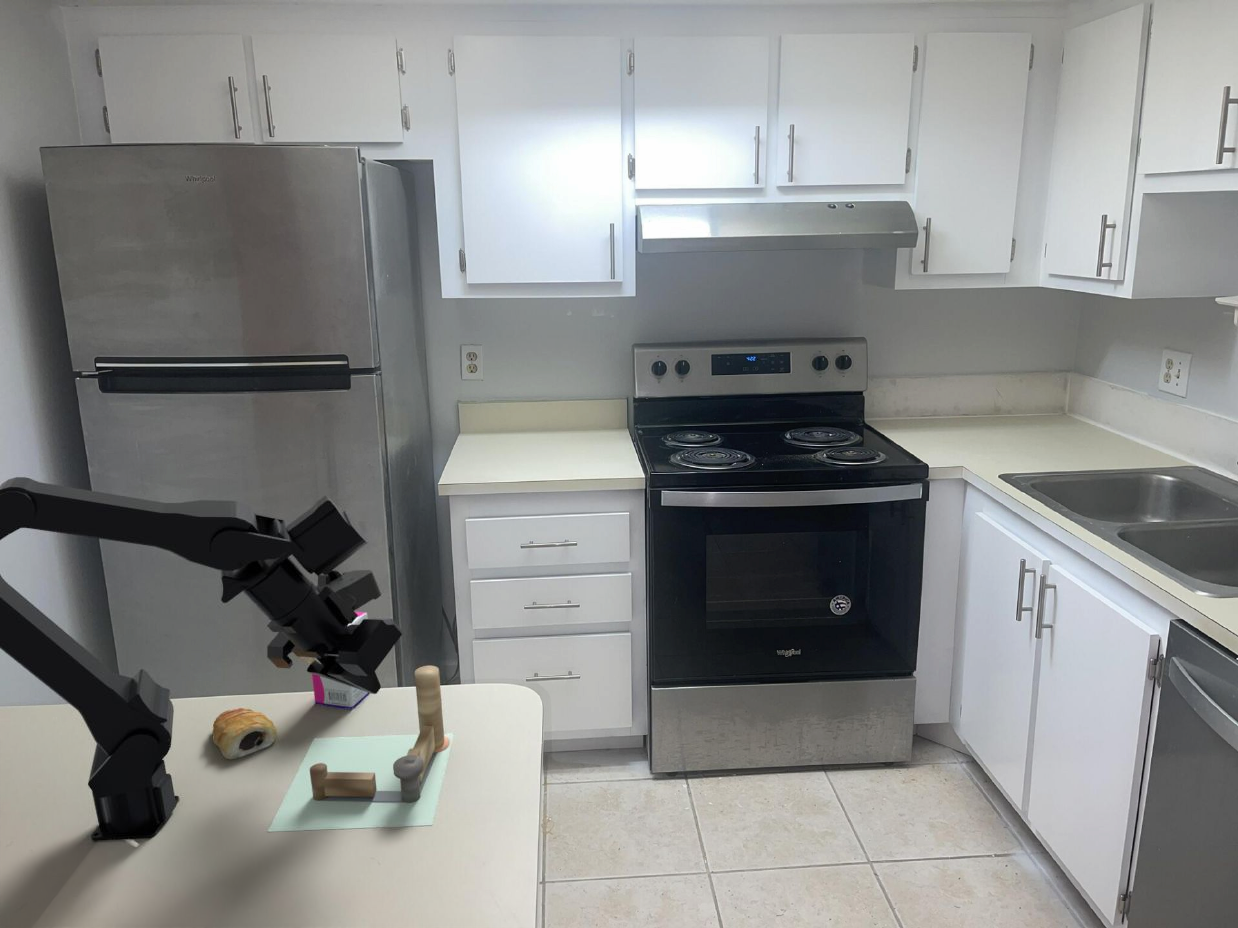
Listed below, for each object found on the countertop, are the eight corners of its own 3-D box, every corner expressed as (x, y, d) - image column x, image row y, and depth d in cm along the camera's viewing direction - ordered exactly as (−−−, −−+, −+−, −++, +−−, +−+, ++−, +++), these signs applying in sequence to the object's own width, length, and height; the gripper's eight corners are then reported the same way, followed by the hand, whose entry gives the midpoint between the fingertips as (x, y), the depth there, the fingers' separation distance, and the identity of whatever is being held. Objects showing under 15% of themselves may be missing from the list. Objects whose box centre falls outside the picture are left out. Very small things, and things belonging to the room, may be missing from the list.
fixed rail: (422, 791, 98) (420, 763, 97) (417, 802, 96) (415, 775, 96) (316, 789, 99) (313, 762, 98) (310, 801, 97) (306, 773, 96)
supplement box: (376, 688, 120) (368, 611, 117) (352, 711, 115) (343, 631, 112) (338, 683, 122) (330, 606, 119) (313, 705, 116) (303, 626, 113)
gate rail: (421, 804, 96) (415, 726, 93) (392, 803, 96) (384, 726, 93) (448, 735, 108) (443, 665, 106) (422, 735, 108) (416, 665, 106)
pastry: (201, 734, 111) (197, 706, 110) (256, 714, 115) (252, 687, 114) (227, 767, 104) (223, 738, 103) (284, 745, 108) (281, 717, 107)
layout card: (267, 833, 92) (267, 830, 92) (314, 740, 109) (314, 737, 109) (432, 827, 93) (432, 823, 93) (454, 735, 109) (454, 732, 109)
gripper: (386, 543, 95) (467, 638, 102) (291, 548, 107) (370, 634, 114) (320, 623, 88) (412, 719, 95) (226, 620, 100) (314, 706, 107)
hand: (376, 690), depth 103 cm, fingers closed
